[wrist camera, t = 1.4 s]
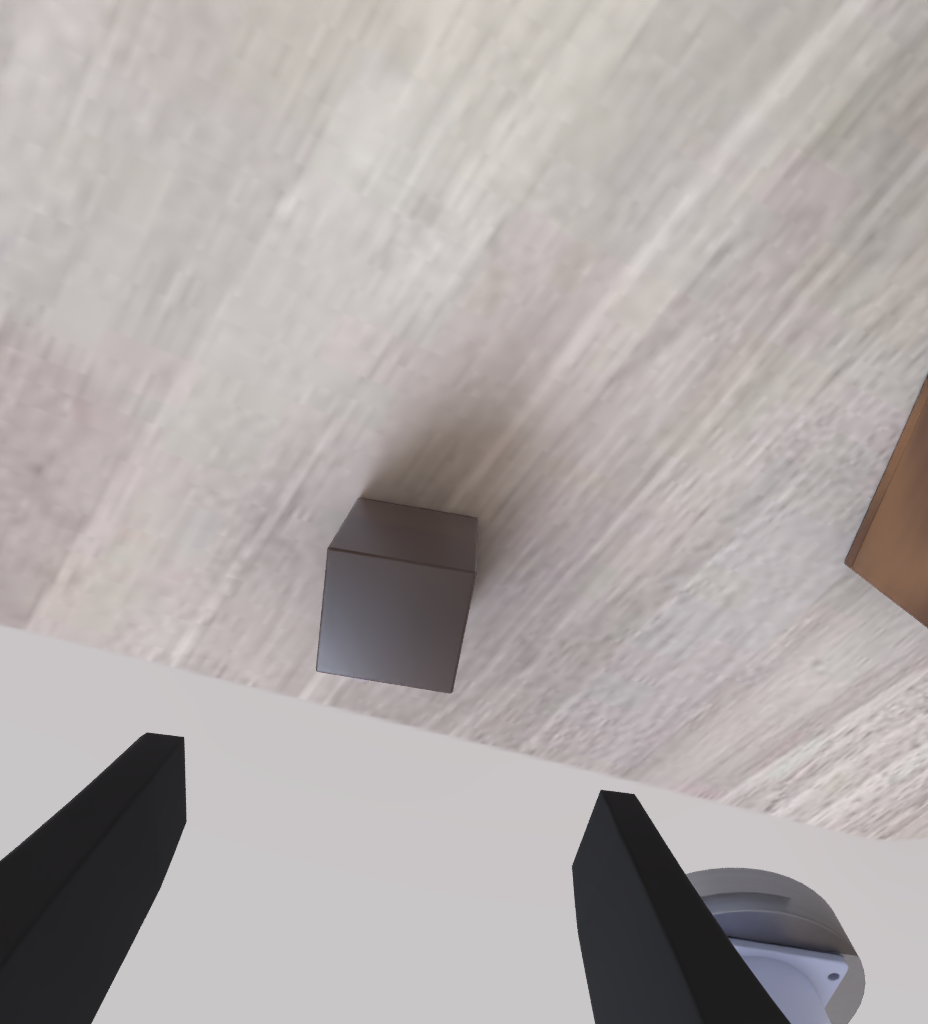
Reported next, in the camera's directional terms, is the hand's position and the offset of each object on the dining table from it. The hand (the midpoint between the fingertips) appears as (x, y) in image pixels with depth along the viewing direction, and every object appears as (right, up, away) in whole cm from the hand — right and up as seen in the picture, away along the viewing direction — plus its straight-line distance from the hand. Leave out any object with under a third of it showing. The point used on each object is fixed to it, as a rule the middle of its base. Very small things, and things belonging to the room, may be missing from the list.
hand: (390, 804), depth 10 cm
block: (0, +3, +10) cm, 10 cm away
